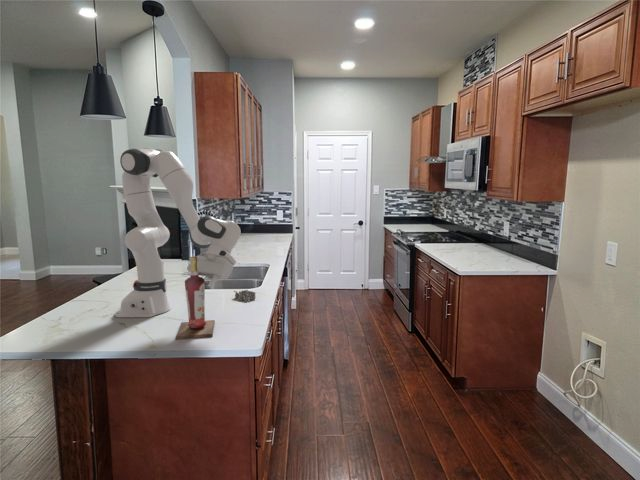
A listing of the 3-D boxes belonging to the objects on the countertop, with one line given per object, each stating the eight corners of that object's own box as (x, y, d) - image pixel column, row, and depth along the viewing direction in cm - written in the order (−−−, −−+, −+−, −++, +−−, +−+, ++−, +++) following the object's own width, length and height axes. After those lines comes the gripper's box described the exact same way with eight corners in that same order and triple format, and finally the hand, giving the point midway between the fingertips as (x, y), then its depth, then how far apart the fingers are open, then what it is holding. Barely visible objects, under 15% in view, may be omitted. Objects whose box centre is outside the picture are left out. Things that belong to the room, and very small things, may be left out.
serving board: (176, 339, 145) (175, 336, 145) (181, 325, 159) (181, 322, 159) (212, 336, 147) (212, 333, 147) (214, 322, 162) (214, 320, 162)
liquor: (200, 331, 149) (197, 259, 145) (183, 330, 151) (179, 258, 147) (210, 324, 156) (206, 255, 152) (193, 323, 158) (189, 255, 154)
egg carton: (232, 298, 197) (232, 290, 197) (245, 295, 203) (244, 287, 202) (245, 302, 190) (245, 294, 189) (258, 299, 195) (257, 291, 195)
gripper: (194, 249, 163) (176, 277, 156) (231, 253, 153) (214, 283, 146) (202, 258, 167) (186, 285, 160) (239, 262, 157) (223, 292, 150)
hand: (199, 284), depth 153 cm, fingers open, 8 cm apart
